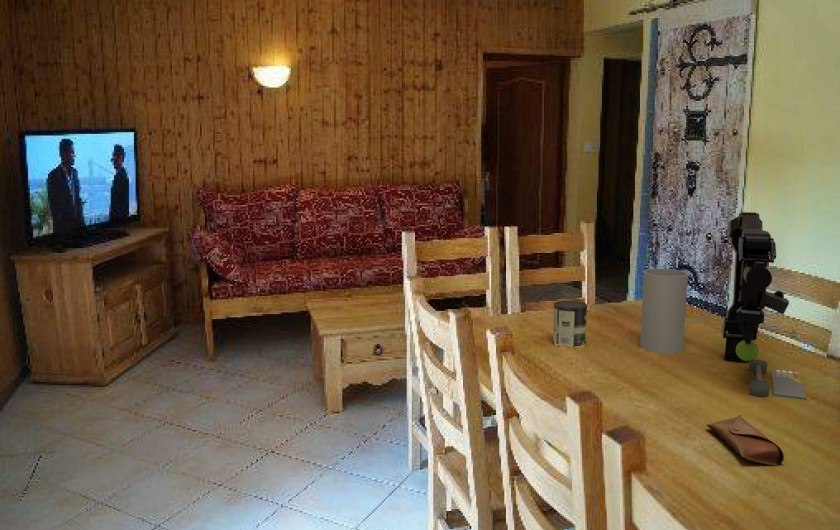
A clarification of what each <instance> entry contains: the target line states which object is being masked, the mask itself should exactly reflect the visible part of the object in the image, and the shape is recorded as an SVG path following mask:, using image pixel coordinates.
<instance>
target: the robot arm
mask: <svg viewBox="0 0 840 530" xmlns="http://www.w3.org/2000/svg"><path fill="white" fill-rule="evenodd" d="M727 230H728V231H727V238H728V239H730V240H729V244H730V246H731V248H732V250H733V252H734V253H735V256H734V276H733V295H732V296H733V297H732V304H731V305H730V307H729V308H728V309H727V311H726V316H725V317H724V318H723V322H722V326H721V336H722V339H725V346H724V347H725V348H724V356H723V359H724V360H726V361H727V360H728V361H736V362H744V363H748V362H749V363H750V361H744V360H742V359H740V358H739V357H738V356H737V354H736V346H737V345H738V343H739V342H741V341H743V340H744V341H745V343H746V344H750V343H751V341H753V342H755V341H756V340H757V339H758V330H759V326H760V324H764V323H765V311H763V310H765V309H766V308H768V309H770V310H773V311H775V312H777V313H778V314H780V315H784V314H785V312H786V310H787V309H788V307H789V305H790V300H788V299H787V298H784V296H785V295H784V292H783V291H780V290H776V291H775V292H770V291H767V288H769V286H771V284H772V281H773V276H772V273H771V271H770V270H769V269H768V264H769V263H770V264H771V263H772V264H774V263H775V260H776V259H777V246H776V242H775V239H774V238H773V237H772V235H771V234H770V233H769V231H767V230H765V229H764V230H763V221H762V219H761V218H760V213H759V212H758V213H757V212H751V211H750V212H749V211H748V212H747V211H743V212H739V213H738V216H737V217H735V218H732V219H731V220H730V221H729V225H728V229H727Z"/></svg>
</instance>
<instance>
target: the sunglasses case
mask: <svg viewBox="0 0 840 530" xmlns="http://www.w3.org/2000/svg"><path fill="white" fill-rule="evenodd" d="M705 426H706V427H707V428H709V429H711V430H712V431H713V432H714V433H715V434H716V435H717V436H718V437H720V439H722V440H723V442H725V443H726V444H727V445H728V447H730V448H731V449H732V450H733V451H734V452H735V453H737V455H739V456H741V458H744V459H745V460H748V461H751V462H755V463H757V464H763V465H770V466H776V467H777V466H779V465H781V464H782V463H783V461H784V459H785V455H784V452H783V450H782V448H781V447H780V446H779V445H778V444H777V443H776V442H774V441H773V440H771V439H769V438H768V437H767V436H766V435H765V434H763V432H761V431H760V430H759V429H758V428H756V427H755V426H753V425H752V424H751V423H750V422H749V421H747V420H745V418H743V417H742V415H740V414H738V416H735V417H732V418H727V419H723V420H719V421H716V422H713V423H706V425H705Z"/></svg>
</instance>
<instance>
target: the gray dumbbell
mask: <svg viewBox="0 0 840 530" xmlns="http://www.w3.org/2000/svg"><path fill="white" fill-rule="evenodd" d="M748 371H749V372H750V371H751V372H750V373H752V372H753V373H752V374H755V375H756V377H755V378H756V379H751V380H750V381H749V391H748V392H749V393H748V394H749V395H750V396H752V397H757V398H768V397H769V392H770V383H769V382H768V381H765V380H763V377H762V375H764V374H763V373H765V374H767V373H768V362H767V361H765V360H761V359H754V360H752V361H749V368H748ZM766 372H767V373H766Z"/></svg>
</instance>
